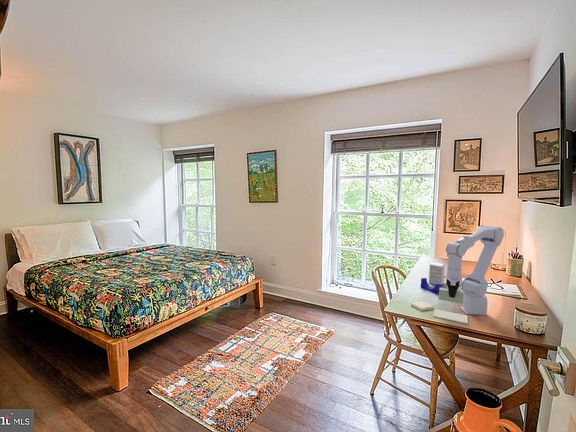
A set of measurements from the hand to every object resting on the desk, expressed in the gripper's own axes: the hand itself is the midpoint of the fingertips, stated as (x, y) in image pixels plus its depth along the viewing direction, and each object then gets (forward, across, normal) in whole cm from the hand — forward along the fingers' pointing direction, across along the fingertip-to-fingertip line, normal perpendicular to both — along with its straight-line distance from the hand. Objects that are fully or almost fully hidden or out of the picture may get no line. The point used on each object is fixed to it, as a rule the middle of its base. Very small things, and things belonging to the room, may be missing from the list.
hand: (452, 295), depth 139 cm
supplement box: (+10, -50, -9) cm, 52 cm away
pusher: (+2, 0, 0) cm, 2 cm away
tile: (+10, -8, -10) cm, 17 cm away
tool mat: (+10, 0, 0) cm, 10 cm away
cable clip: (+11, -35, -11) cm, 38 cm away
